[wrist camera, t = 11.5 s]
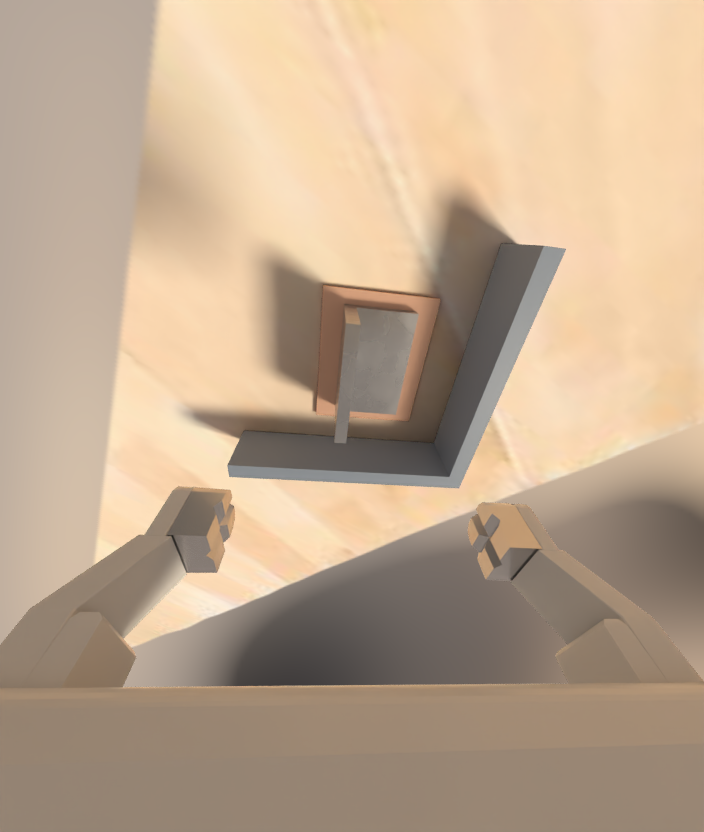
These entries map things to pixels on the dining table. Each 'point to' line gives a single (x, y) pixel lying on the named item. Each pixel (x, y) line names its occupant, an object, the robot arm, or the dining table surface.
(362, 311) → the angle bracket
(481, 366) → the grey l-shaped piece
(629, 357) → the dining table surface
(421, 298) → the mat
